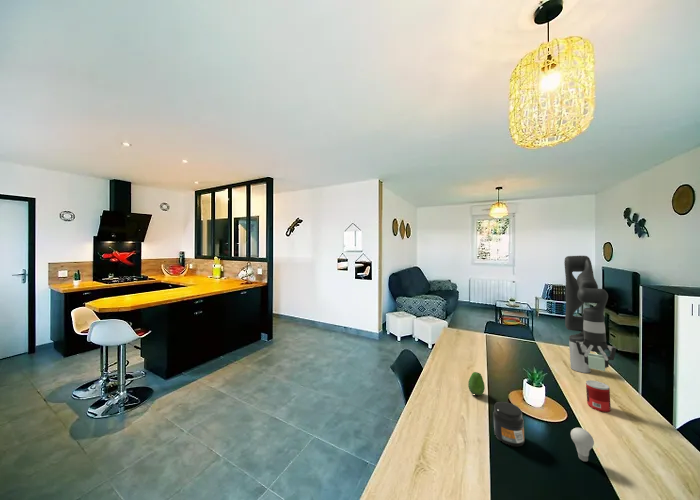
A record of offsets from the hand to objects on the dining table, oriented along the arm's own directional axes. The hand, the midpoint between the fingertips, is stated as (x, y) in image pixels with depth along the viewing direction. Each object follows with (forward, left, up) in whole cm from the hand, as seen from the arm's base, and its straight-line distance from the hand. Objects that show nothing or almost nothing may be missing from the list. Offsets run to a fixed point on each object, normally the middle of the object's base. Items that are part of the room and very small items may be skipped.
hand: (596, 365), depth 118 cm
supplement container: (+49, -28, -20) cm, 60 cm away
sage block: (0, 0, -1) cm, 1 cm away
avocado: (+24, -47, -20) cm, 56 cm away
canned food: (0, 0, -20) cm, 20 cm away
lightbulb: (+45, -6, -20) cm, 50 cm away
